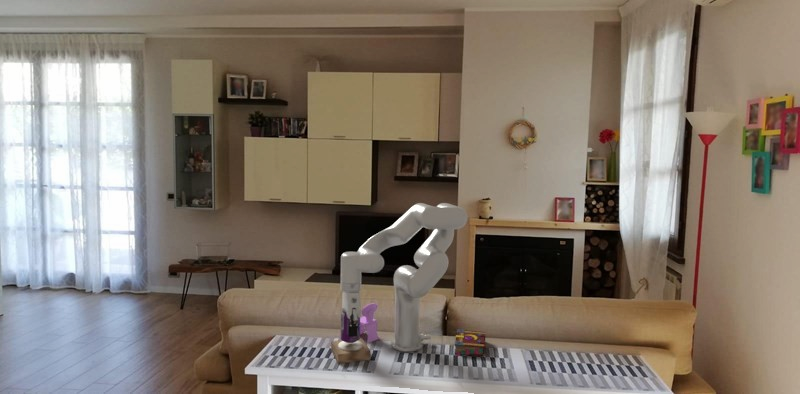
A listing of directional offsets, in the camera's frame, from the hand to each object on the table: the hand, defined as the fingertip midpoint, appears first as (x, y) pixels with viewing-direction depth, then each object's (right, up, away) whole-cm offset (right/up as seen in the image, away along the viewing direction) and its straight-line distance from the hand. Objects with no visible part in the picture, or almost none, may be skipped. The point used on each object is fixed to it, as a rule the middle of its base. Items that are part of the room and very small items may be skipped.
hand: (350, 331), depth 200 cm
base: (0, -9, +1) cm, 9 cm away
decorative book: (+46, -9, +9) cm, 47 cm away
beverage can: (0, -3, 0) cm, 3 cm away
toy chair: (+5, -7, +18) cm, 20 cm away
